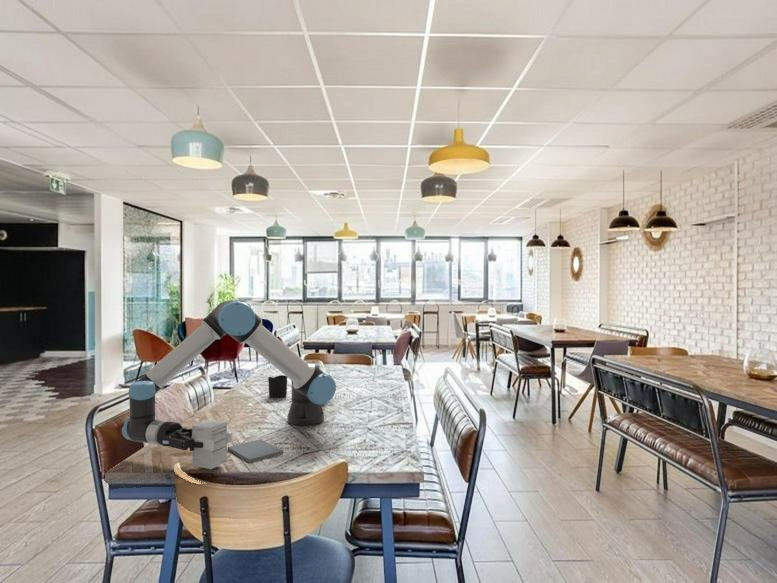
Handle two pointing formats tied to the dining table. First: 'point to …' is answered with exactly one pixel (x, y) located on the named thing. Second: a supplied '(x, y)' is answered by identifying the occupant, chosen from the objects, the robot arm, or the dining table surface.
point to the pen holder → (277, 386)
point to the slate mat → (255, 450)
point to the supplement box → (219, 436)
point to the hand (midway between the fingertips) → (222, 441)
